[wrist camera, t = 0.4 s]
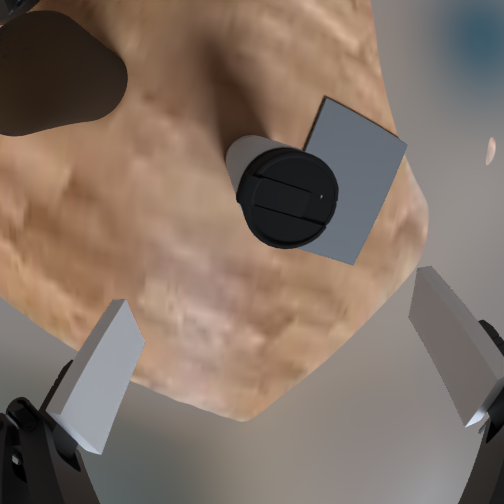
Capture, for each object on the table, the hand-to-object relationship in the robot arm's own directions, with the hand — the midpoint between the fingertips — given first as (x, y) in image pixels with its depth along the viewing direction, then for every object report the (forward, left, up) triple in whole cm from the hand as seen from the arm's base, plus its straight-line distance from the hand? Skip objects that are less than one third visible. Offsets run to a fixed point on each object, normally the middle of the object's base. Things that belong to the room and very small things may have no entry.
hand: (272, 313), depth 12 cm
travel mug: (-4, +1, -26) cm, 26 cm away
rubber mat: (-5, +14, -26) cm, 30 cm away
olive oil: (-8, -21, -26) cm, 34 cm away
